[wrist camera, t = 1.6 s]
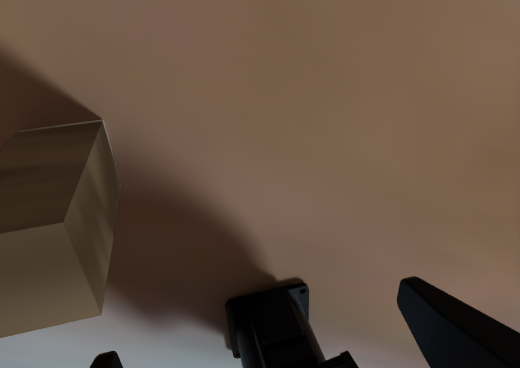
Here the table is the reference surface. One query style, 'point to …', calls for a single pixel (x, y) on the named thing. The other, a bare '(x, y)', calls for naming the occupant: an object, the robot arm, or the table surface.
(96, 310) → the walnut block
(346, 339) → the table surface
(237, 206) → the table surface
